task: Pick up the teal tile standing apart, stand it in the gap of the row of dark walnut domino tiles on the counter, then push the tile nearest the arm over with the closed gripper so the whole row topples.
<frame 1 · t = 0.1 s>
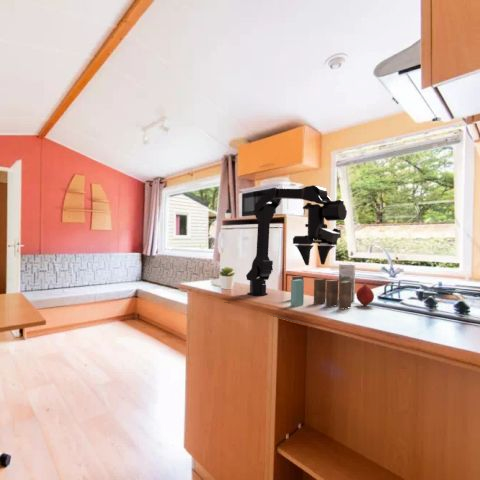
hand: (315, 264, 107), 14 cm above the countertop, tool pointing down, fingers open, 9 cm apart
domino 5: (345, 307, 104), on the countertop
domino 3: (319, 303, 111), on the countertop
onion: (364, 306, 108), on the countertop
syrup box: (346, 300, 119), on the countertop
domino 1: (297, 299, 119), on the countertop
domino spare: (297, 305, 107), on the countertop
domino 4: (331, 305, 108), on the countertop
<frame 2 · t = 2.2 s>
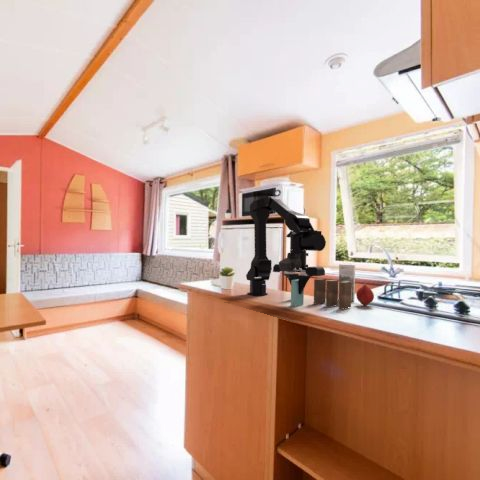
hand: (297, 293, 107), 4 cm above the countertop, tool pointing down, fingers closed on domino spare, 2 cm apart
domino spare: (297, 305, 107), on the countertop, touching gripper
everything else where it was.
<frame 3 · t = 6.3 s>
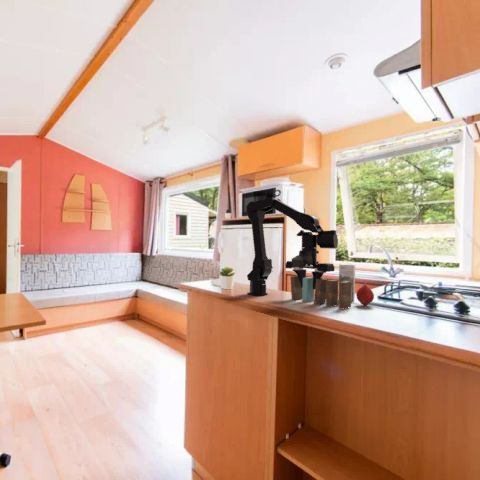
hand: (308, 288, 115), 5 cm above the countertop, tool pointing down, fingers open, 5 cm apart
domino 3: (319, 303, 111), on the countertop, tilted 5°
domino 1: (297, 299, 119), on the countertop, tilted 6°
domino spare: (308, 301, 115), on the countertop
everything else where it was.
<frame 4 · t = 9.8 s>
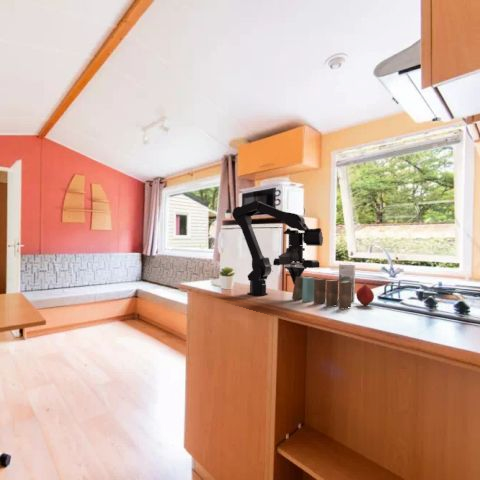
hand: (295, 284, 120), 6 cm above the countertop, tool pointing down, fingers closed
domino 3: (319, 303, 111), on the countertop
domino 1: (297, 298, 118), on the countertop, tilted 12°
everything else where it was.
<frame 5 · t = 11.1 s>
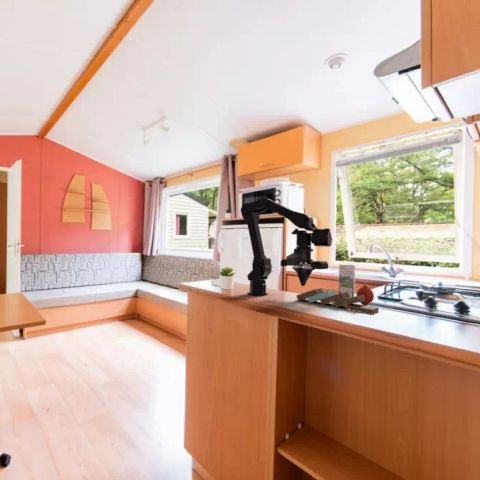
hand: (302, 286, 117), 5 cm above the countertop, tool pointing down, fingers closed
domino 5: (348, 307, 103), on the countertop, tilted 90°
domino 3: (324, 301, 110), point 1 cm above the countertop, tilted 67°, touching domino 4, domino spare
domino 1: (300, 297, 117), point 1 cm above the countertop, tilted 67°, touching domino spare
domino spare: (311, 299, 114), point 1 cm above the countertop, tilted 67°, touching domino 1, domino 3
domino 4: (337, 303, 106), point 1 cm above the countertop, tilted 70°, touching domino 3
everything else where it was.
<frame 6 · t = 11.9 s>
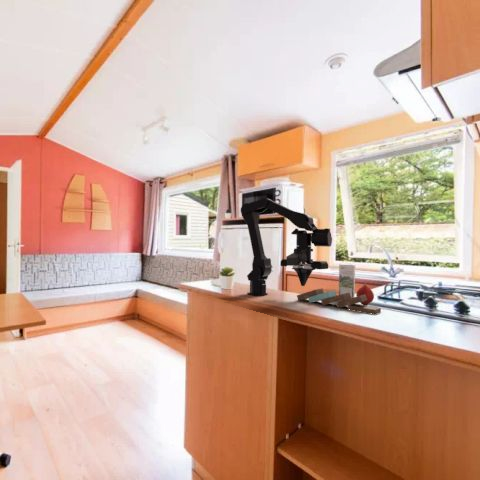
hand: (302, 286, 117), 5 cm above the countertop, tool pointing down, fingers closed
domino 5: (350, 307, 103), on the countertop, tilted 90°, touching domino 4
domino 3: (325, 301, 109), point 1 cm above the countertop, tilted 69°, touching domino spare
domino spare: (312, 299, 113), point 1 cm above the countertop, tilted 68°, touching domino 1, domino 3
domino 4: (339, 304, 106), point 1 cm above the countertop, tilted 68°, touching domino 5
everything else where it was.
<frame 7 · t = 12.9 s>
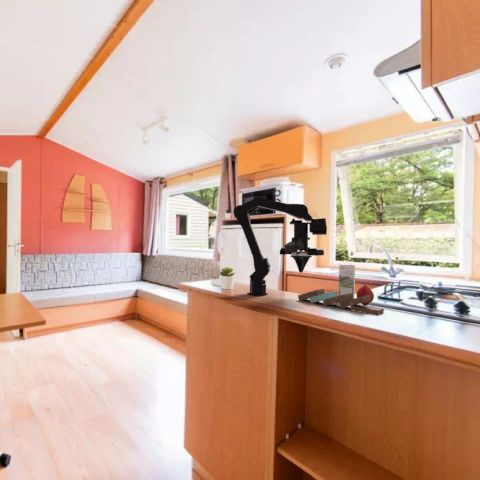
hand: (300, 272, 124), 10 cm above the countertop, tool pointing down, fingers closed
domino 5: (353, 307, 102), on the countertop, tilted 90°
domino 3: (327, 302, 109), point 1 cm above the countertop, tilted 69°, touching domino 4, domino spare
domino 4: (343, 304, 104), point 1 cm above the countertop, tilted 68°, touching domino 3
everything else where it was.
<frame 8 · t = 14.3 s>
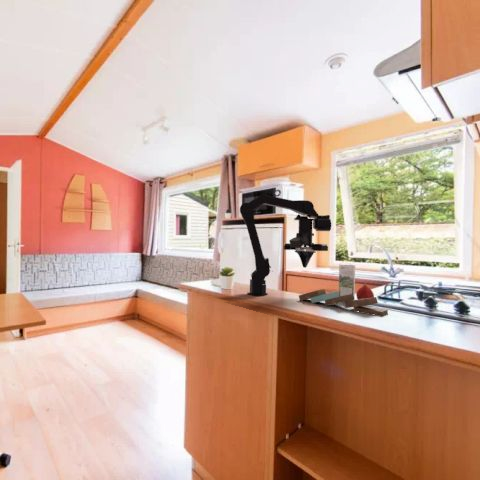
hand: (304, 267, 127), 12 cm above the countertop, tool pointing down, fingers closed
domino 5: (356, 309, 101), on the countertop, tilted 90°
domino 3: (329, 302, 108), point 1 cm above the countertop, tilted 70°, touching domino 4
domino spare: (314, 299, 113), point 1 cm above the countertop, tilted 70°, touching domino 1
domino 4: (348, 304, 102), point 2 cm above the countertop, tilted 74°, touching domino 3
everything else where it was.
at the end: domino 5 tilted 90°; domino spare inside the target area (2.5 cm from its centre), point 0.9 cm above the countertop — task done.
